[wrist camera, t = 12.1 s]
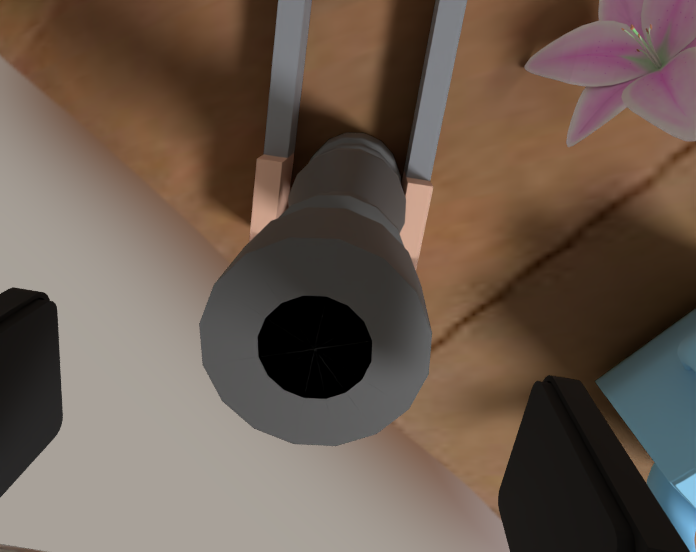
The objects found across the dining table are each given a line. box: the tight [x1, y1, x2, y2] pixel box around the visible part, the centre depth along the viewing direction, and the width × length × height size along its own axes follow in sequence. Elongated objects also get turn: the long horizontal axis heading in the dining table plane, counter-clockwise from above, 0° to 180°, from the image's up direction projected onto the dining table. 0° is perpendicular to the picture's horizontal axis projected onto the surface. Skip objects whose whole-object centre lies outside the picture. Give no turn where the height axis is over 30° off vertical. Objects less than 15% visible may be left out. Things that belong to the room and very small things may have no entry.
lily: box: [524, 0, 696, 147], centre depth 30 cm, size 12×12×10 cm
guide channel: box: [249, 0, 467, 270], centre depth 33 cm, size 18×10×5 cm, turn 171°
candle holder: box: [199, 132, 432, 446], centre depth 25 cm, size 6×6×25 cm
